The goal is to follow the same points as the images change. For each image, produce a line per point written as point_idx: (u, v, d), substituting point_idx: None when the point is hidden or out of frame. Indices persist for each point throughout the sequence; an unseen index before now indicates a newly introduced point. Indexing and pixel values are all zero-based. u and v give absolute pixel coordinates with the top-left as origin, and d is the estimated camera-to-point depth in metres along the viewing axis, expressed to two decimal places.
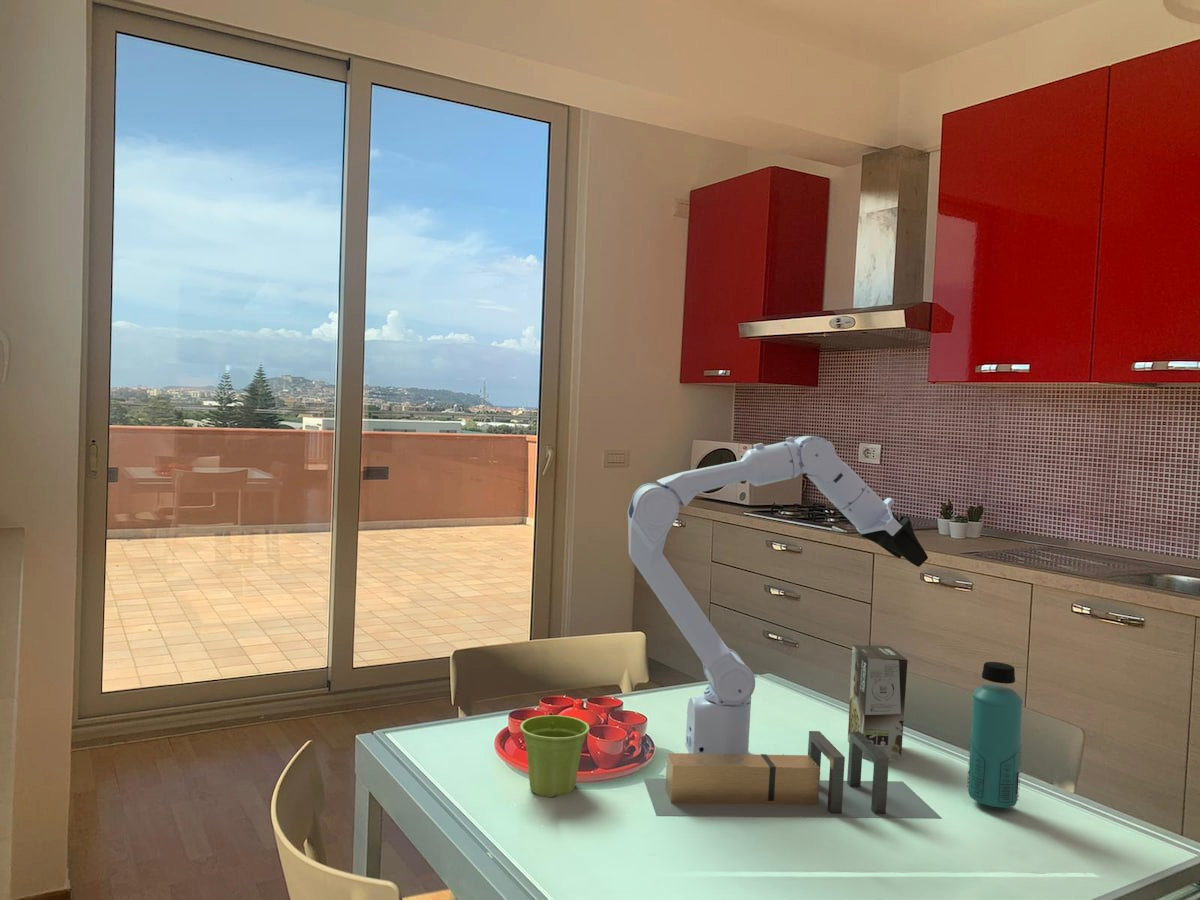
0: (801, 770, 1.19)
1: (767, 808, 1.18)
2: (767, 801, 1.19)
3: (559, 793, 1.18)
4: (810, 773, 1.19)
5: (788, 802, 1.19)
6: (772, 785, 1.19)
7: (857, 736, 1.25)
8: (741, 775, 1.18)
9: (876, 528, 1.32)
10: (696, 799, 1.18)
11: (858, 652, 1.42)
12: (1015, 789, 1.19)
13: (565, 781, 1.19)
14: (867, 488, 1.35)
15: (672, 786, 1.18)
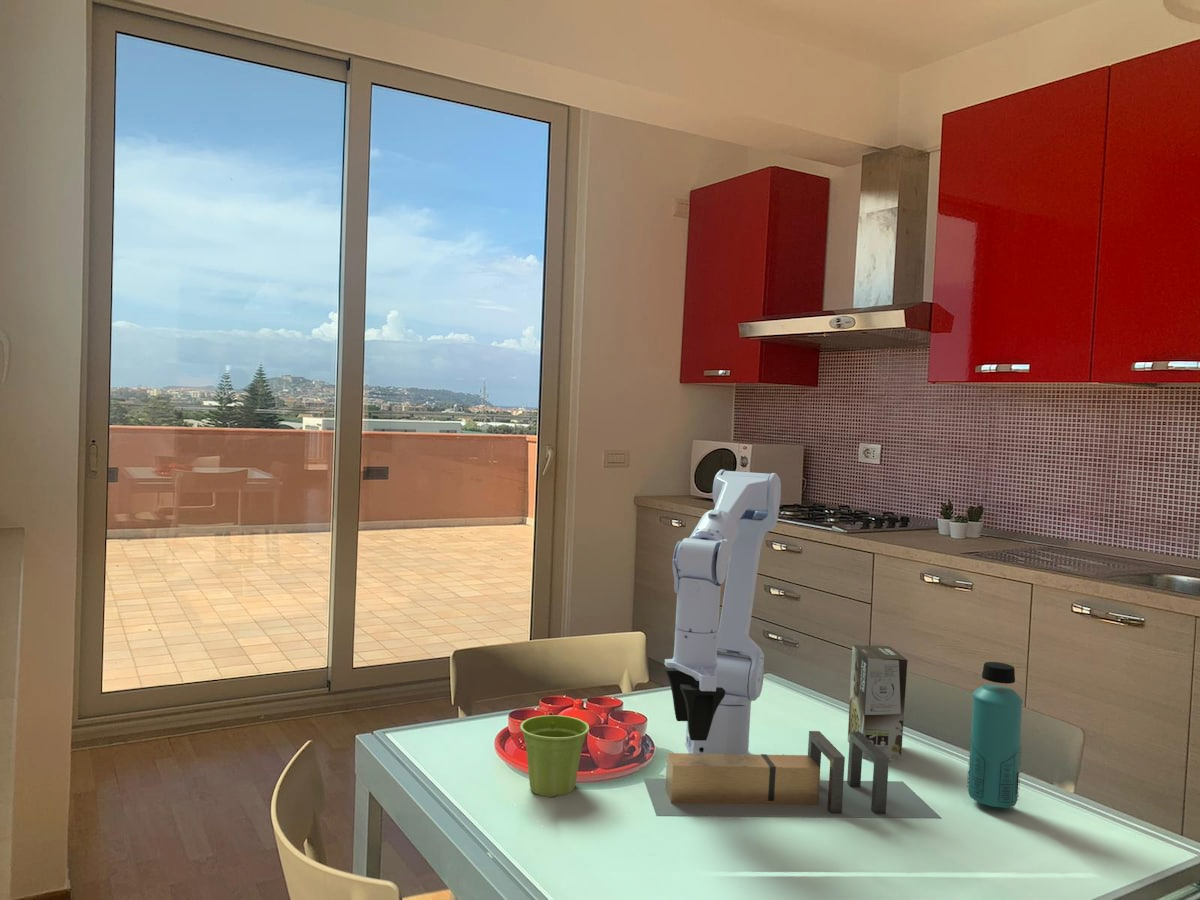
0: (801, 770, 1.19)
1: (767, 808, 1.18)
2: (767, 801, 1.19)
3: (559, 793, 1.18)
4: (810, 773, 1.19)
5: (788, 802, 1.19)
6: (772, 785, 1.19)
7: (857, 736, 1.25)
8: (741, 775, 1.18)
9: None
10: (696, 799, 1.18)
11: (858, 652, 1.42)
12: (1015, 789, 1.19)
13: (565, 781, 1.19)
14: (677, 628, 1.20)
15: (672, 786, 1.18)
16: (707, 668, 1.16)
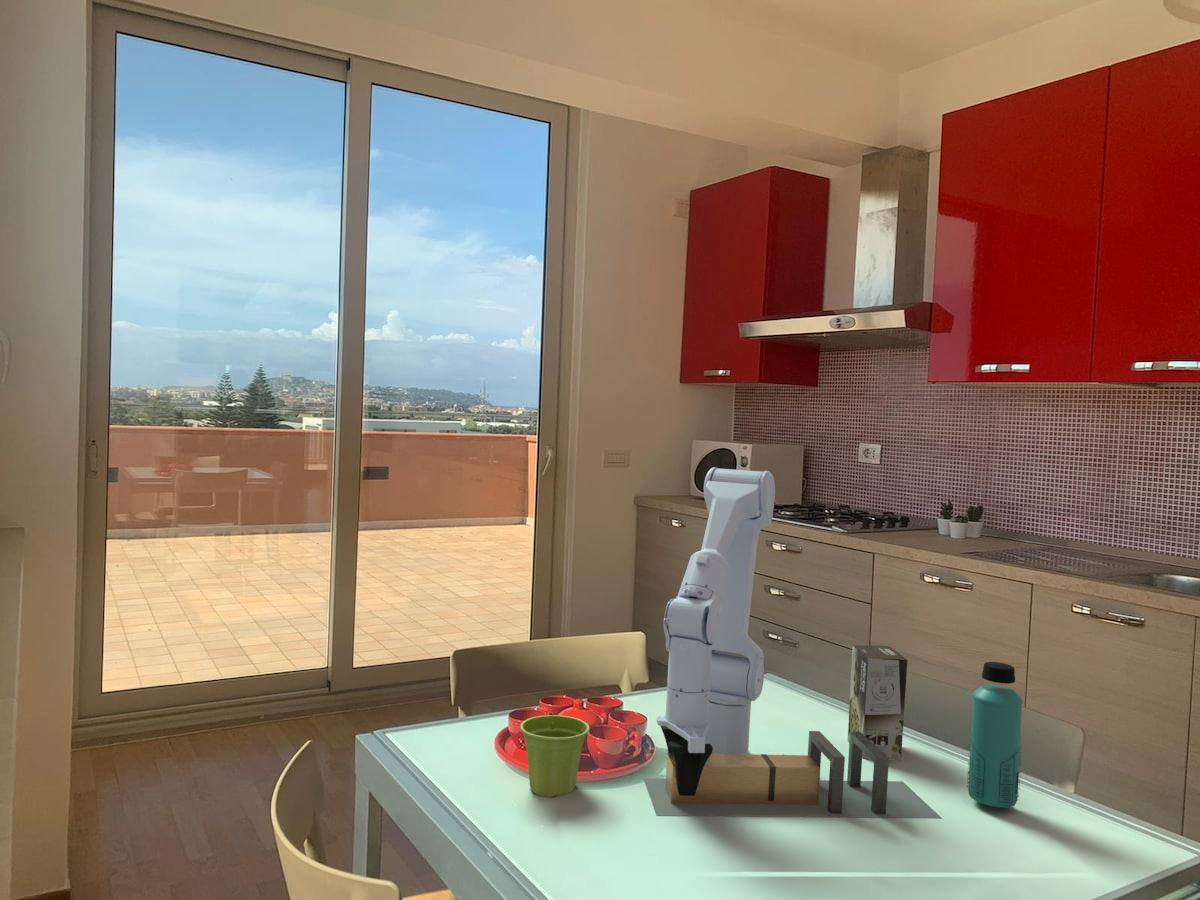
0: (801, 770, 1.19)
1: (767, 808, 1.18)
2: (767, 801, 1.19)
3: (559, 793, 1.18)
4: (810, 773, 1.19)
5: (788, 802, 1.19)
6: (772, 785, 1.19)
7: (857, 736, 1.25)
8: (741, 775, 1.18)
9: None
10: (696, 799, 1.18)
11: (858, 652, 1.42)
12: (1015, 789, 1.19)
13: (565, 781, 1.19)
14: None
15: (672, 786, 1.18)
16: (698, 727, 1.17)
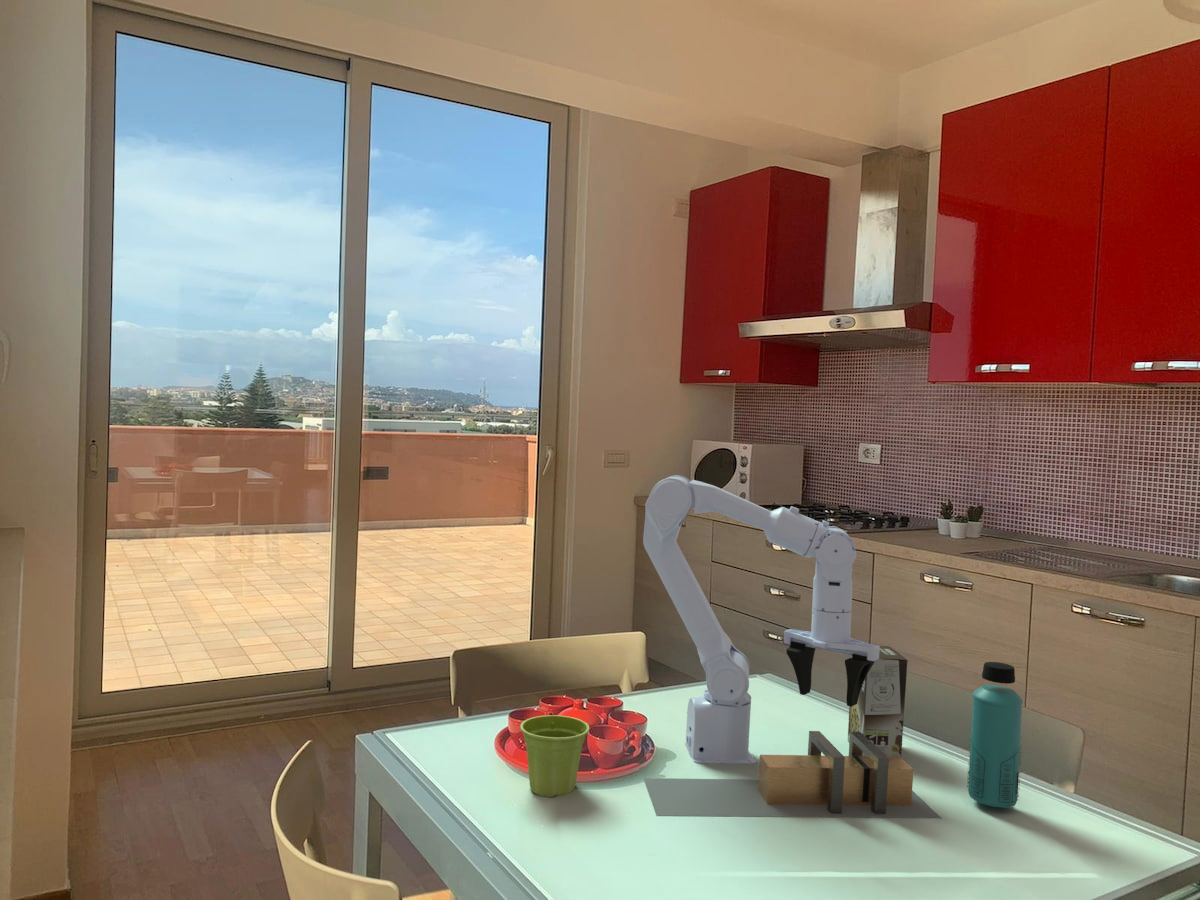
0: (895, 772, 1.20)
1: (767, 808, 1.18)
2: (861, 802, 1.20)
3: (559, 793, 1.18)
4: (904, 775, 1.20)
5: None
6: (866, 786, 1.20)
7: (857, 736, 1.25)
8: None
9: (806, 632, 1.38)
10: (792, 800, 1.19)
11: None
12: (1015, 789, 1.19)
13: (565, 781, 1.19)
14: (814, 611, 1.33)
15: (768, 787, 1.19)
16: (851, 641, 1.33)
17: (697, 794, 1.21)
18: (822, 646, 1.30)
